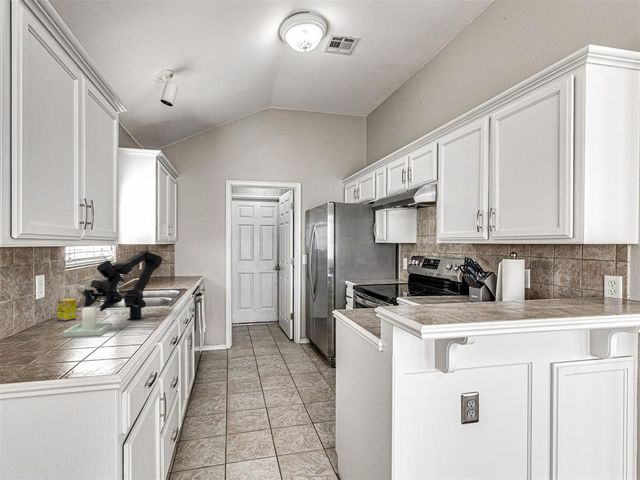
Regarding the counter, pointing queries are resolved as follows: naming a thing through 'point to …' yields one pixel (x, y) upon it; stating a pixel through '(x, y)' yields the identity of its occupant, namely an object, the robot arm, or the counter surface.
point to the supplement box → (66, 309)
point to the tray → (77, 330)
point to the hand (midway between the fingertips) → (92, 310)
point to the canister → (88, 318)
